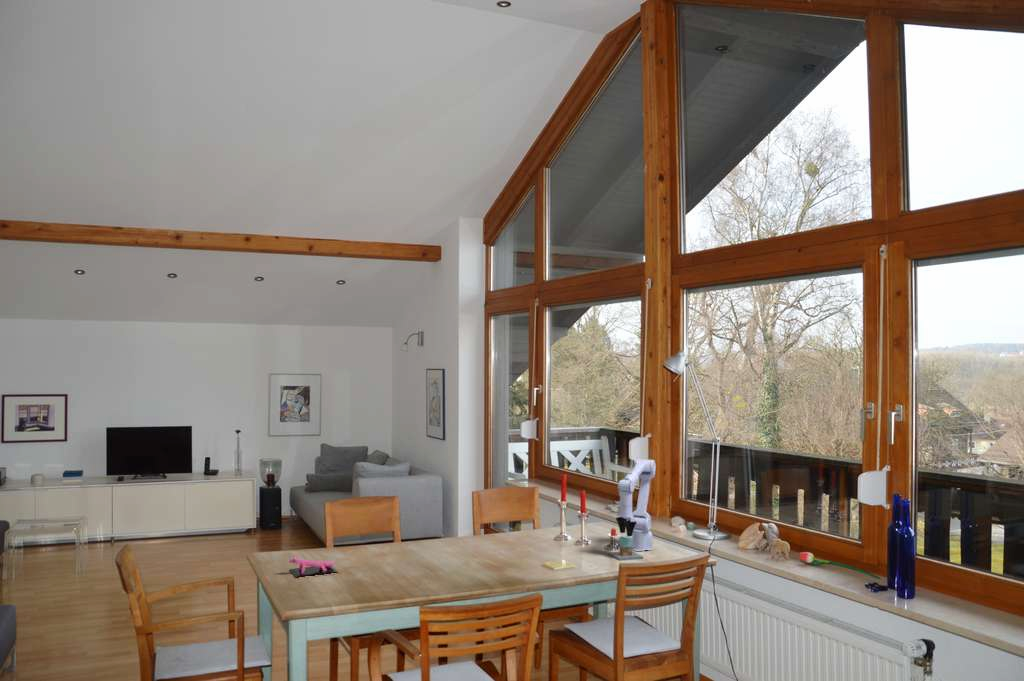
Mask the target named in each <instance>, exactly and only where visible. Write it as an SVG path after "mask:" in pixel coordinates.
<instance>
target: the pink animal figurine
mask: <svg viewBox="0 0 1024 681" xmlns="http://www.w3.org/2000/svg"><path fill="white" fill-rule="evenodd" d="M288 562H289V563H292V564H295V565H299V567H295V568H289V569H288V571H289V573H291V574H292V576H293V575H294V576H295V577H294V576H293V577H294V578H295V579H300V578H299V577H305V576H314V577H316V576H315V575H323V576H325V575H324V574H331V573H339V571H337V569H336V568H334V566H333V565H334V564H335V561H334V560H329V561H327V560H326V561H316V560H310V559H303V558H302V559H301V558H299V557H292V558H291V559H289V561H288ZM305 578H306V577H305Z"/></svg>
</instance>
